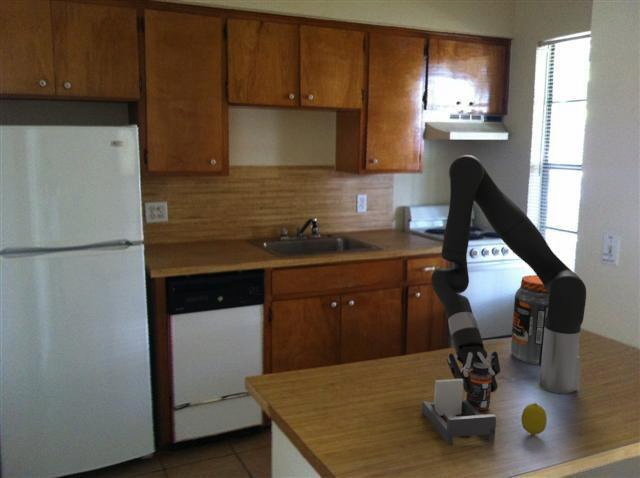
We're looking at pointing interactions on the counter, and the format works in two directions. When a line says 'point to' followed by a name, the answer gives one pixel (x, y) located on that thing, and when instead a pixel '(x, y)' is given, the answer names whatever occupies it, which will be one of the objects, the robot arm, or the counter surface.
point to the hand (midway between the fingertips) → (482, 391)
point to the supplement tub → (529, 320)
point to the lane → (461, 422)
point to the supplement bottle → (480, 386)
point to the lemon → (534, 419)
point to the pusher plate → (448, 397)
